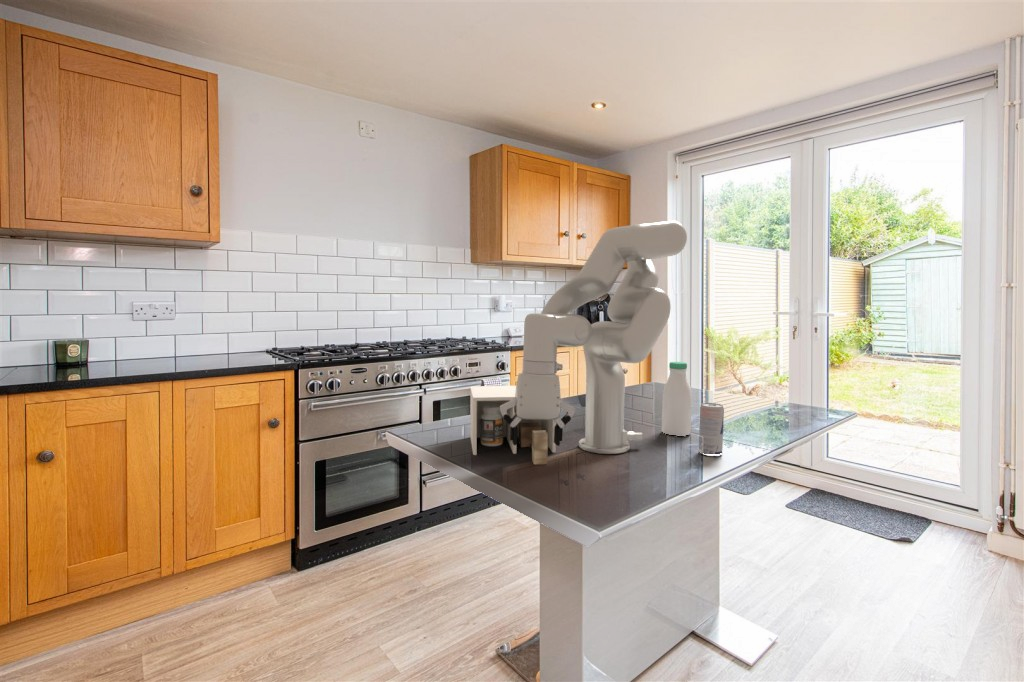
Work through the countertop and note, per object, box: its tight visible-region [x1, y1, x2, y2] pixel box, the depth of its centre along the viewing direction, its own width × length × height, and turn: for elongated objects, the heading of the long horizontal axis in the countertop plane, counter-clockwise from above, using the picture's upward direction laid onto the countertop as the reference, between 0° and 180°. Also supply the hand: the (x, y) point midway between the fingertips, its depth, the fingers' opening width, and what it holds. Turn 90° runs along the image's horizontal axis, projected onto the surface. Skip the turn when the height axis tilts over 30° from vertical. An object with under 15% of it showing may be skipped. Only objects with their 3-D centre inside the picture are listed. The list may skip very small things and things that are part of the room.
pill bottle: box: [480, 404, 504, 447], centre depth 132 cm, size 6×6×10 cm
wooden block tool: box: [517, 422, 549, 465], centre depth 125 cm, size 5×19×7 cm, turn 7°
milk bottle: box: [661, 361, 693, 436], centre depth 143 cm, size 8×8×20 cm
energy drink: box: [698, 402, 725, 454], centre depth 124 cm, size 5×5×12 cm
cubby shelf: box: [469, 385, 557, 456], centre depth 131 cm, size 20×16×14 cm
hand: (535, 443), depth 116 cm, fingers open, 9 cm apart
